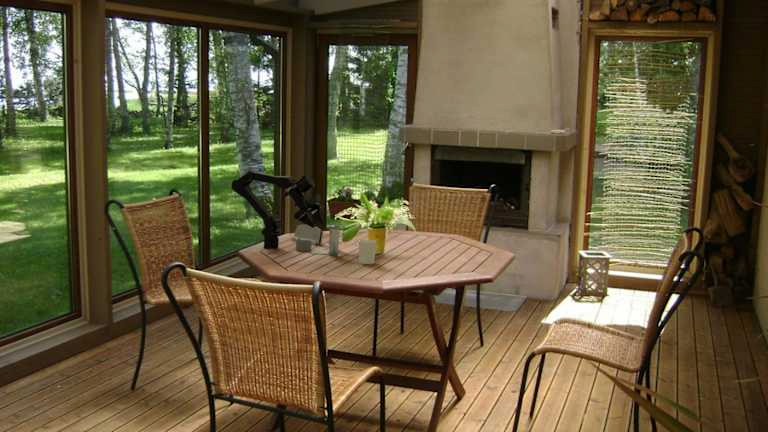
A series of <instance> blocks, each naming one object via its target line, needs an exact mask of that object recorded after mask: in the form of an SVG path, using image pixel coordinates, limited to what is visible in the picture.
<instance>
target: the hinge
mask: <svg viewBox="0 0 768 432" xmlns="http://www.w3.org/2000/svg"><path fill="white" fill-rule="evenodd" d="M314 226H315V225H314ZM298 238H300V239H311V246H313V247H315V246H316V245H322V244H323V238H324V231H323V230H322V229H321V228H319V227H317V225H316V226H315V227H314V228H312V227H310V226H308V225H307V224H305V223H304V224H299V225H297V226H296V228H295V232H294V235H293V236H292V237H291V239H290V242H295V243H296V239H298Z"/></svg>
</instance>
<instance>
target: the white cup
mask: <svg viewBox="0 0 768 432" xmlns="http://www.w3.org/2000/svg"><path fill="white" fill-rule="evenodd" d="M376 248H377V241H376V240H374V239H368V238H367V239H366V238H365V239H364V238H363V239H359V240H358V263H359V264H362V265H374V264H375V259H376V258H375V257H376V250H377V249H376Z"/></svg>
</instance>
